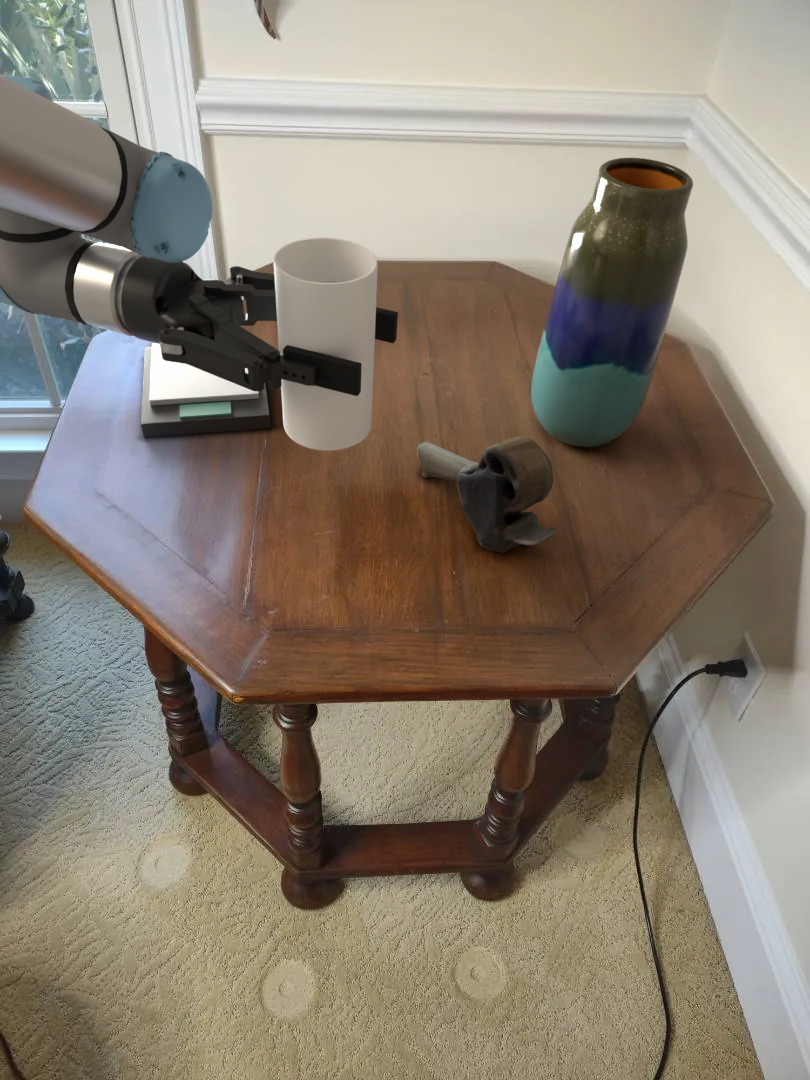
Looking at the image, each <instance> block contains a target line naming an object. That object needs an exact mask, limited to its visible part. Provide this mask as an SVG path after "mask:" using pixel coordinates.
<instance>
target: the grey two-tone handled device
mask: <svg viewBox="0 0 810 1080" xmlns="http://www.w3.org/2000/svg"><path fill="white" fill-rule="evenodd" d="M416 455H417V459H418V461H419V464H420V468H421V470H422V477H424V478H438V479H441V480H446V481H451V482H454V483H456V485H457V489H458V495H459V496H458V497H459V500H460V506H461V508H462V510H463V513H464V514H465V516H466V518H467V520H468V521H469V524H470V525H471V527H472V528H473V531H474V533H475V535H476V539H477V543H479V545H480V546H481V547H482V548H485V549H486V550H488V551H492V552H497V553H500V554H504V553H506V552H508V551H510V550H512V549H515V548H516V547H518V546H520V545H523V546H528V547H529V546H530V547H531V546H538V545H540V544H541V543H545V542H546V541H547V540H549V539H551V538H553V537H554V536H555V535H557V533H558V530H557V528H555V527H551V526H550V527H549V526H548V527H547V526H544V525H540V524H539V519H538V516H537V514H536V513H535V512H534V511H532V510H531V511H527V509H529V508H531V507H533V506H534V505H536V504H537V503H541V502H543V501H545V499H546V498H547V497H548V496H549V494H550V492H551V491H552V488H553V484H554V475H553V474H554V473H553V467H552V463H551V460H550V459H549V457H548V454H546V453H545V451H544V450H543V449H542V448H541V447H540V445H539V444H538V443H536V442H535V440H533V439H531V438H529V437H525V436H522V435H521V436H520V435H519V436H514V437H511V438H509V439H506V440H504V441H500V442H497V443H495V444H493V445H491V446H489V447H487V448H486V449H484V451H483V452H482V454H481V455H480V457H479V461H478V462H476V461H472V460H470V459H468V458H466V457H463V456H461V455H458V454H456V453H454V452H452V451H449V450H447V449H446V448H443V447H440V446H438V445H436V444H434V443H431V442H429V441H424V442H422V443H420V444H418V447H417V449H416ZM525 510H526V511H525Z"/></svg>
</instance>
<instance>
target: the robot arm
mask: <svg viewBox="0 0 810 1080" xmlns="http://www.w3.org/2000/svg"><path fill="white" fill-rule="evenodd" d="M212 197H213V196H212V192H211V189H210V186H209V184H208V182H207V179H206V178H205V177H204V175H203V173H202V172H201V171H200V170H199V169H198V168H197V167H195V166H194V165H193V164H191V163H189V162H187V161H184V160H181V159H179V158H176V157H174V156H173V155H172V154H170V153H168V152H165V151H155V150H152V149H149V148H146V147H144V146H142V145H140V144H137V143H135V142H133V141H131V140H129V139H127V138H125V137H123V136H121V135H119V134H117V133H115V132H114V131H111V130H110V129H107V128H104V127H102V126H100V125H98V124H97V123H95V122H94V121H92V120H90V119H88V118H86V117H84V116H82V115H80V114H78V113H76V112H74V111H72V110H70V109H68V108H66V107H64V106H62V105H60V104H58V103H56V102H54V101H53V97H52V94H51V92H50V91H49V90H48V88H47V87H46V86H44V84H43V83H42V82H41V81H39V80H38V79H35V78H32V77H28V76H23V75H15V74H14V75H13V74H0V303H2V304H5V305H8V306H11V307H13V308H17V309H20V310H21V311H23V312H26V313H29V314H35V315H43V316H48V317H52V318H57V319H62V320H65V321H71V322H75V323H79V324H83V326H88V327H94V328H99V329H102V330H106V331H109V332H114V333H116V334H121V335H125V336H128V337H135V338H137V339H139V340H142V341H146V342H150V343H158V344H160V348H161V354H162V358H163V360H165V361H170V362H177V363H184V364H188V365H190V366H193V367H195V368H198V369H200V370H203V371H205V372H208V373H210V374H212V375H215V376H217V377H220V378H222V379H225V380H227V381H230V382H232V383H235V384H237V385H240V386H242V387H245V388H247V389H250V390H252V391H261V390H263V389H264V387H265V386H264V383H265V384H266V383H268V389H270V390H273V391H275V390H281V387H282V379H283V380H287V381H291V382H295V383H296V382H297V383H299V384H303V385H307V386H318V387H322V388H326V389H330V390H334V391H338V392H342V393H346V394H350V395H354V396H358V395H359V393H360V392H361V365H362V363H359V362H355V361H351V360H347V359H343V358H338V357H334V356H330V355H326V354H322V353H318V352H314V351H309V350H305V349H302V348H297V347H293V346H289V345H286V346H285V348H284V349H283V356H282V355H280V351H279V348H276V347H274V346H273V345H271V344H270V343H268V342H267V341H265V340H263V339H261V338H260V337H259V336H256V335H255V334H253V333H252V332H250V331H249V330H247V329H245V328H244V327H253V326H255V325H256V324H257V322H277V310H276V294H275V277H274V273H268V272H261V271H254V270H251V269H248V268H245V267H242V266H238V265H237V266H236V265H235V266H234V265H233V266H231V267H230V268H229V275H230V277H228V278H227V279H225V280H224V281H223V280H221V279H204V278H203V279H202V278H201V277H200V276H199V275H198V274H197V273H196V272H195V271H194V270H193V268H192V267H191V265H189V264H188V263H187V262H185V261H188V260H189V259H191V258H193V256H195V255H196V254H197V253H198V252H199V251H200V249H201V248H202V247H203V245H204V244H205V242H206V239H207V238H208V235H209V228H210V225H211V221H212V219H213V209H214V208H213V198H212ZM85 236H87V237H89V238H87V237H85ZM90 238H92V239H90ZM93 239H95V240H93ZM97 240H99V241H97ZM101 241H102V242H101ZM244 301H245V305H246V313H245V308H244ZM398 317H399V311H396V310H390V309H385V308H382V307H377V306H376V321H375V340H377V341H382V342H386V343H389V344H392V345H393V344H395V342H396V341H397V337H398V336H397V335H398ZM242 326H243V327H242ZM245 368H247V369H248V374H247V373H245Z"/></svg>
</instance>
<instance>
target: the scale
mask: <svg viewBox="0 0 810 1080" xmlns="http://www.w3.org/2000/svg"><path fill="white" fill-rule="evenodd" d="M245 373H247V374H248V369H247V368H245ZM266 385H267V384H266V383H264V386H265V387H264V389H263V390H261V391H252V390H250V389H247V388H245V387H242V386H240V385H237V384H235V383H232V382H230V381H227V380H225V379H222V378H220V377H217V376H215V375H212V374H210V373H208V372H205V371H203V370H200V369H198V368H195V367H193V366H190V365H188V364H184V363H177V362H170V361H165V360H163V358H162V354H161V348H160V344H158V343H154V342H151V346H145V347H144V359H143V378H142V394H141V414H140V416H141V417H140V428H141V431H142V436H143V438H152V437H153V438H154V437H155V438H156V437H168V436H169V437H170V436H181V435H196V434H208V433H222V432H223V433H224V432H235V431H238V432H239V431H252V430H264V429H265V430H266V429H271V427H272V426H271V414H270V407H269V399H268V393H267V386H266Z"/></svg>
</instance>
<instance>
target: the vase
mask: <svg viewBox="0 0 810 1080" xmlns="http://www.w3.org/2000/svg"><path fill="white" fill-rule="evenodd" d="M693 188H694V180H693V178H692V177H691V176H690V175H689V174H688V173H687V172H686V171H685V170H684V169H681V168H679V167H677V166H675V165H673V164H669V163H666V162H663V161H661V160H660V161H659V160H655V159H649V158H644V157H643V158H641V157H619V158H613V159H610V160H607V161H605V162H603V163H602V164H601V165H600V167H599V168H598V172H597V177H596V179H595V184H594V188H593V191H592V196H591V197H590V199H589V201H588V202H587V204H585V206H584V208H583V209H582V210H581V211H580V213H579V215H578V216H577V217H576V219H575V220H574V222H573V224H572V226H571V229H570V233H569V236H568V239H567V243H566V247H565V250H564V252H563V253H564V254H563V257H562V261H561V265H560V268H559V273H558V276H557V279H556V283H555V286H554V290H553V294H552V298H551V302H550V305H549V309H548V312H547V315H546V319H545V323H544V327H543V331H542V335H541V339H540V342H539V345H538V350H537V353H536V358H535V361H534V365H533V370H532V376H531V383H530V400H531V406H532V409H533V412H534V414H535V416H536V419H537V420H538V422H539V424H540V426H541V427H542V428H543V429H544V431H545V432H546V433H547V434H548V435H549V436H550V437H552V438H554V439H555V440H557V441H559V442H561V443H563V444H566V445H569V446H573V447H578V448H595V447H599V446H600V447H601V446H603V445H605V444H609V443H610V442H612V441H613V440H614V441H615V440H616V439H617V438H619V437H620V436H621V435H623V434H624V433H625V432H626V431H627V430H629V428H631V426H632V425H633V424H634V422H635V421H636V420H637V418H638V417H639V414H640V412H641V410H642V408H643V406H644V403H645V401H646V398H647V395H648V392H649V390H650V386H651V382H652V379H653V376H654V373H655V371H656V370H655V369H656V365H657V363H658V359H659V355H660V352H661V348H662V344H663V341H664V337H665V333H666V331H667V326H668V323H669V319H670V315H671V312H672V308H673V304H674V301H675V297H676V294H677V289H678V286H679V283H680V280H681V276H682V271H683V268H684V265H685V260H686V257H687V251H688V242H689V241H688V239H689V238H688V231H687V224H686V211H687V207H688V205H689V200H690V197H691V194H692V190H693Z"/></svg>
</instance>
